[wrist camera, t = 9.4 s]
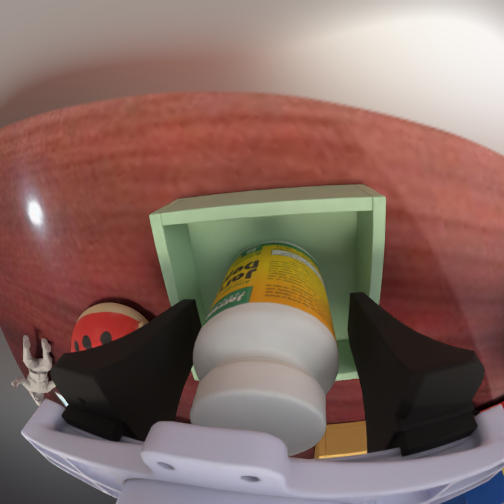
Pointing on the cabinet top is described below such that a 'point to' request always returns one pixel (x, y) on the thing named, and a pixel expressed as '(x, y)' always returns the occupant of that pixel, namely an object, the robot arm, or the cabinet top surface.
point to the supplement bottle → (268, 348)
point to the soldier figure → (36, 371)
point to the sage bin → (276, 228)
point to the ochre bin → (342, 440)
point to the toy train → (483, 486)
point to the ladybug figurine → (104, 325)
